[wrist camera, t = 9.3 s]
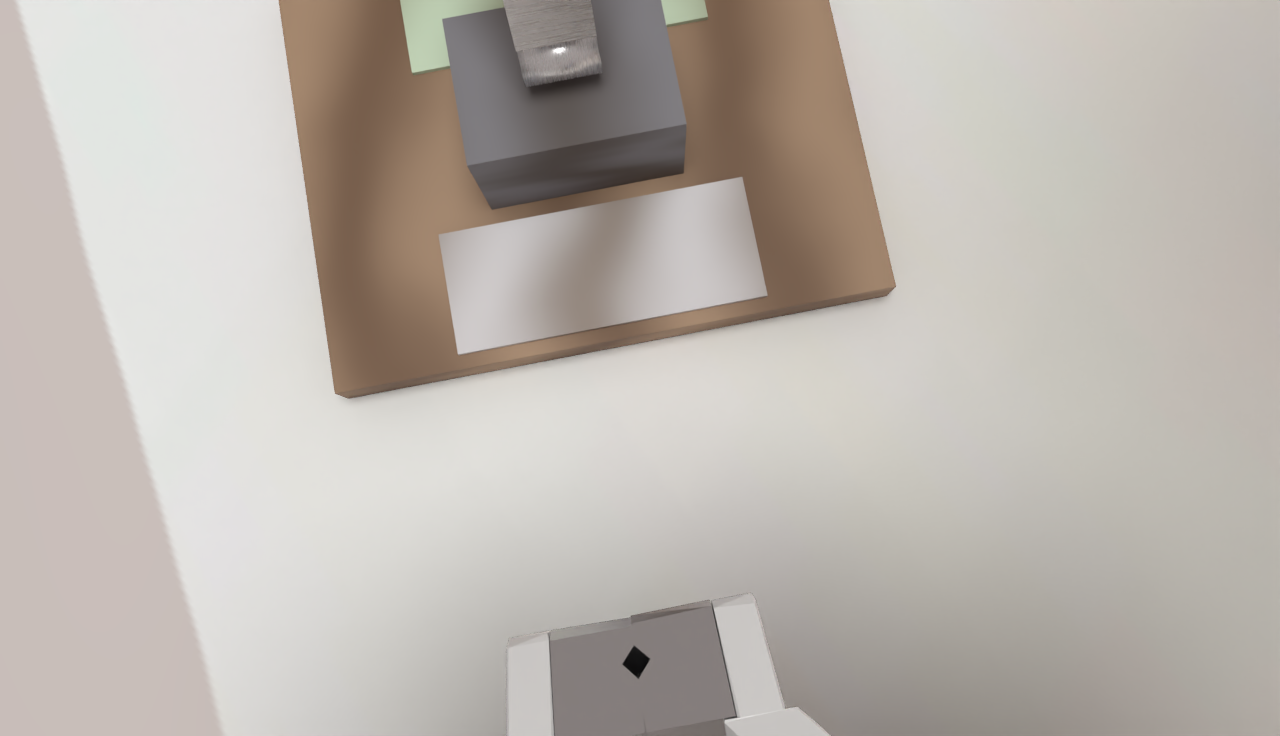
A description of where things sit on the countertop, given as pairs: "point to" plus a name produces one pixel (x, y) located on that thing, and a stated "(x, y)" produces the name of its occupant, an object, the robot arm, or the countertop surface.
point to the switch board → (433, 190)
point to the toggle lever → (553, 39)
